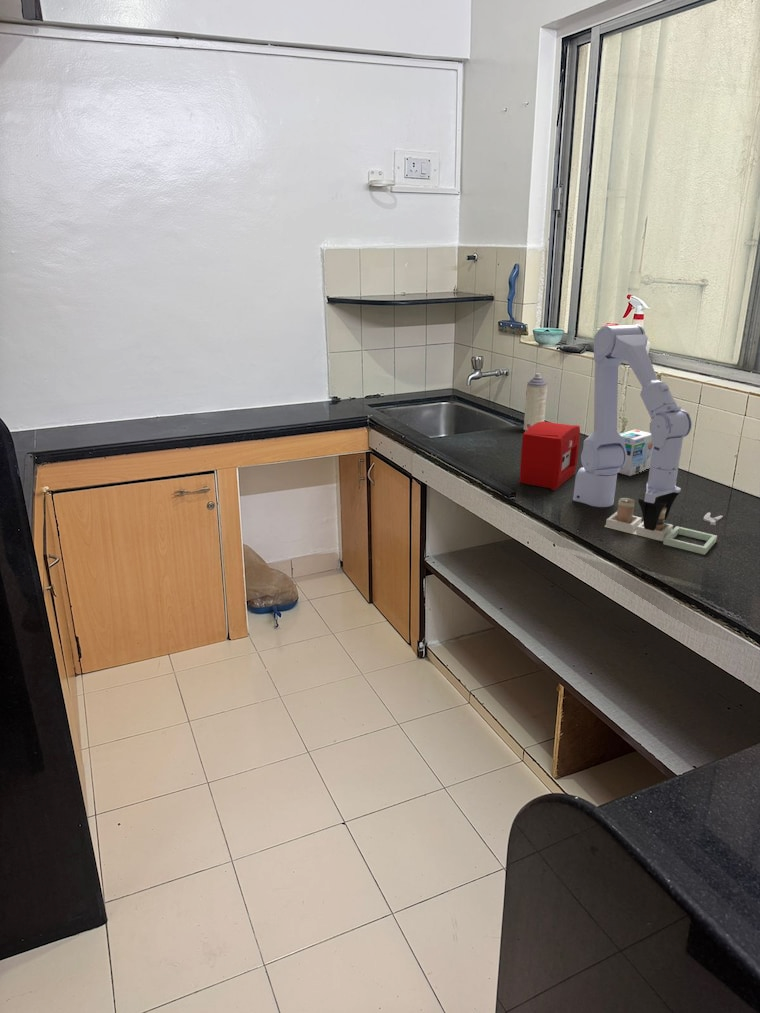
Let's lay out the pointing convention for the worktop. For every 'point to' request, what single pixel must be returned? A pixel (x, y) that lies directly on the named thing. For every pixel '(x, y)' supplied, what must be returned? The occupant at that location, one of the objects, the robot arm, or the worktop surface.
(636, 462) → the light bulb box
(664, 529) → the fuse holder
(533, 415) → the aerosol can
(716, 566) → the worktop surface
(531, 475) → the fire alarm
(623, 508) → the fuse
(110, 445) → the worktop surface
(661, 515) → the cylinder
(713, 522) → the pliers
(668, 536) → the tray
